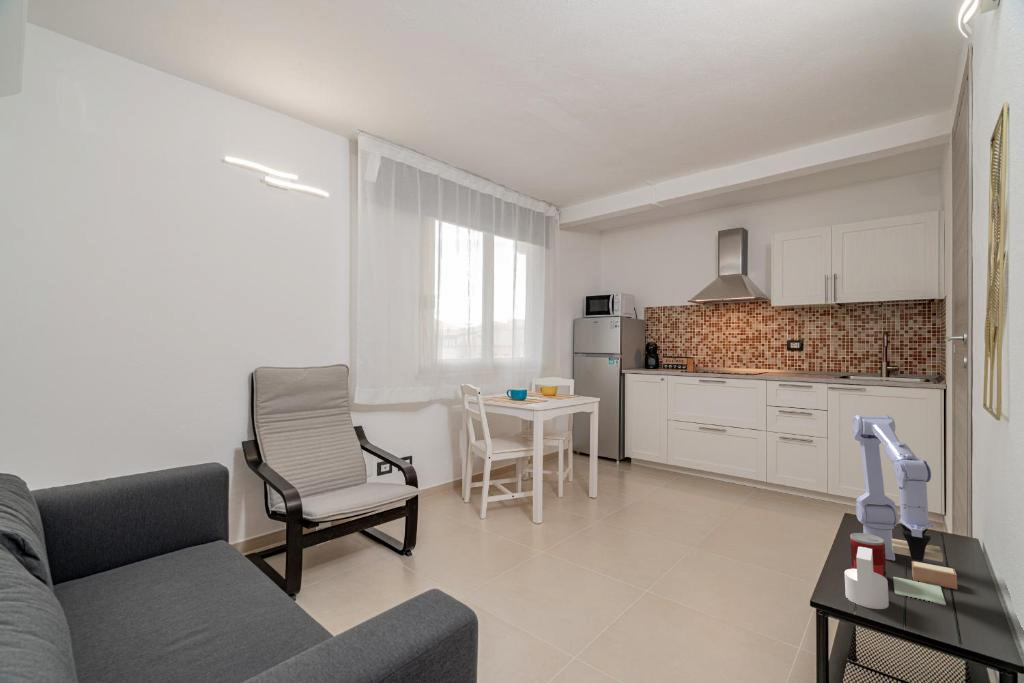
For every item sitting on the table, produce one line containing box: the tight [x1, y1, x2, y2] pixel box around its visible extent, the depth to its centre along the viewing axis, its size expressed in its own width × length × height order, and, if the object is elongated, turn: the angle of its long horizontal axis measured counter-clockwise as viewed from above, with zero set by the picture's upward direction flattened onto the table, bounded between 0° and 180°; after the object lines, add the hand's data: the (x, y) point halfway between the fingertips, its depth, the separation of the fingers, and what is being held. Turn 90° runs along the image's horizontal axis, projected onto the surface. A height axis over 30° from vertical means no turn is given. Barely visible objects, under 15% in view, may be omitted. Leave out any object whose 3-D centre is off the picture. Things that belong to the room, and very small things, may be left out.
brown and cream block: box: [911, 560, 958, 590], centre depth 130 cm, size 4×9×4 cm, turn 53°
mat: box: [892, 576, 947, 606], centre depth 126 cm, size 11×10×1 cm
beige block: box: [892, 538, 944, 563], centre depth 126 cm, size 6×10×2 cm, turn 53°
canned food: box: [849, 532, 887, 579], centre depth 134 cm, size 8×8×11 cm
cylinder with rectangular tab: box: [844, 547, 890, 610], centre depth 122 cm, size 9×9×12 cm
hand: (916, 555), depth 126 cm, fingers closed on beige block, 6 cm apart
